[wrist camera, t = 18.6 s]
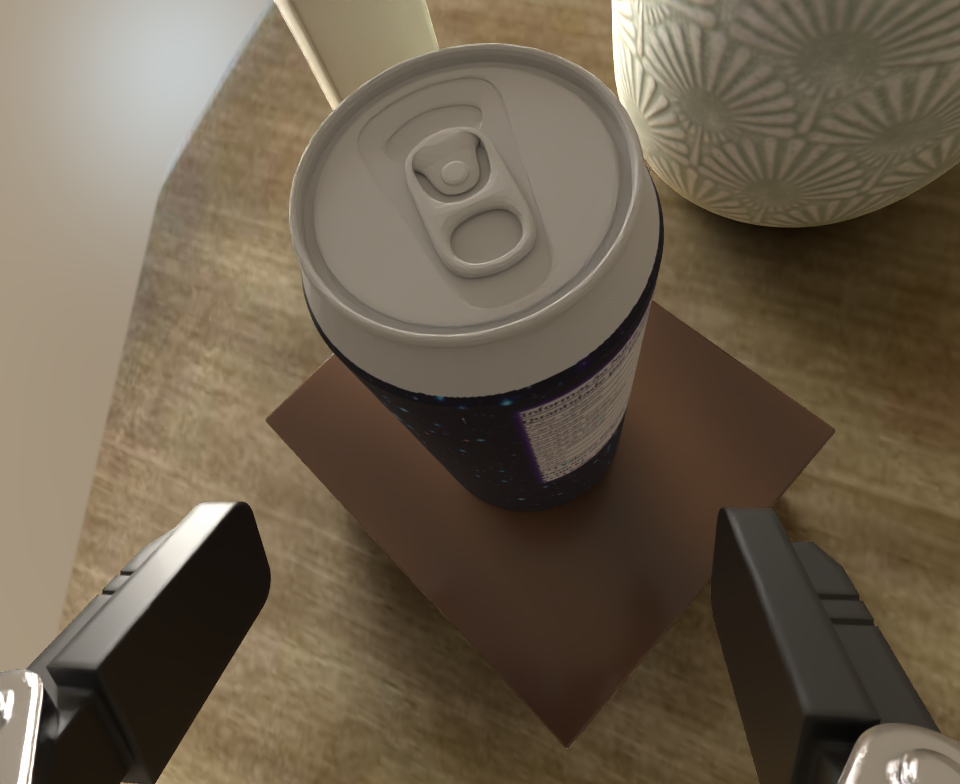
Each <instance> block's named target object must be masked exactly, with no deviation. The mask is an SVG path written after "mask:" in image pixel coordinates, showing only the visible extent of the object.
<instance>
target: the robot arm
mask: <svg viewBox="0 0 960 784" xmlns="http://www.w3.org/2000/svg"><path fill="white" fill-rule="evenodd" d="M270 582H271V574H270V568H269V564H268V561H267V557H266V554H265V551H264V547H263V544H262V541H261V537H260V534H259V531H258V528H257V524H256V521H255V518H254V514H253V511H252V509H251V507H250V506H249V505H248V504H247V503H245V502H217V501H204V502H201V503H199V504H197V505H196V506H195V507H194V508H193V509H192V510H191V511H190V512H189V513H188V515H187V516H186V517H185V518H184V519H183V520H182V521H181V522H180V523H179V524H178V525H177V526H176V527H175V528H174V529H171V530H170V531H168V532H167V533H165V534H164V535H162V536H161V537H159V538H158V539H156V540H154V541H153V542H151V543H150V544H148V545H147V546H145V547H144V548H142V549H141V550H140V551H139V552H138V553H137V554H136V556H135V557H134V558H133V559H132V560H131V561H130V562H129V563H128V564H127V565H126V566H125V567H124V568H123V569H122V570H121V574H120V576H115V577H114V578H113V579H112V580H111V581H110V583H109V584H108V585H107V586H106V587H105V588H104V589H103V590H102V591H103V592H102V595H97V596H96V597H95V598H94V599H93V600H92V601H91V602H90V603H89V604H88V605H87V606H86V607H85V608H84V609H83V611H82V612H81V613H80V614H79V615H78V616H77V617H76V618H75V619H74V620H73V621H72V622H71V623H70V624H69V625H68V626H67V627H66V628H65V629H64V630H63V631H62V632H61V633H60V634H59V635H58V636H57V637H56V639H55V640H54V641H53V642H52V643H51V644H50V645H49V646H48V647H47V648H46V649H45V650H44V651H43V652H42V653H41V654H40V655H39V656H38V657H37V658H36V659H35V660H34V661H33V662H32V664H31V665H30V666H29V667H28V668H27V669H25V670H18V669H16V670H8V671H4V672H0V784H120V783H121V782H126V783H137V784H155V783H156V781H157V780H158V778H159V776H160V775H161V773H162V771H163V770H164V768H165V767H166V765H167V763H168V762H169V760H170V758H171V757H172V755H173V753H174V752H175V750H176V749H177V747H178V745H179V744H180V742H181V740H182V739H183V737H184V735H185V734H186V732H187V731H188V729H189V727H190V726H191V724H192V722H193V721H194V719H195V717H196V716H197V714H198V712H199V711H200V709H201V708H202V706H203V704H204V703H205V701H206V699H207V698H208V696H209V694H210V693H211V691H212V690H213V688H214V686H215V685H216V683H217V681H218V680H219V678H220V676H221V675H222V673H223V672H224V670H225V668H226V667H227V665H228V663H229V662H230V660H231V658H232V657H233V655H234V654H235V652H236V650H237V649H238V647H239V645H240V644H241V642H242V640H243V639H244V637H245V636H246V634H247V632H248V631H249V629H250V627H251V626H252V624H253V622H254V621H255V619H256V618H257V616H258V614H259V613H260V611H261V609H262V608H263V606H264V604H265V602H266V600H267V597H268V594H269V590H270ZM711 604H712V612H713V618H714V622H715V626H716V630H717V633H718V637H719V641H720V644H721V648H722V651H723V655H724V658H725V662H726V666H727V669H728V673H729V676H730V680H731V683H732V687H733V690H734V694H735V698H736V701H737V705H738V708H739V712H740V715H741V719H742V722H743V726H744V730H745V733H746V737H747V740H748V744H749V747H750V751H751V755H752V758H753V762H754V765H755V769H756V772H757V776H758V779H759V783H760V784H960V743H959V742H957V741H955V740H953V739H952V738H950V737H948V736H945V735H943V734H942V733H941V731H940V730H939V728H938V727H937V725H936V724H935V722H934V720H933V719H932V717H931V715H930V714H929V712H928V710H927V709H926V707H925V705H924V704H923V702H922V700H921V699H920V697H919V695H918V693H917V692H916V690H915V688H914V687H913V685H912V683H911V682H910V680H909V678H908V677H907V675H906V673H905V671H904V670H903V668H902V666H901V665H900V663H899V661H898V660H897V658H896V656H895V655H894V653H893V651H892V650H891V648H890V646H889V644H888V643H887V641H886V639H885V638H884V636H883V634H882V633H881V631H880V629H879V628H878V626H875V625H874V619H873V617H872V616H871V614H870V612H869V611H868V609H867V607H866V606H865V604H864V602H863V601H860V599H859V594H858V592H857V590H856V589H855V587H854V585H853V584H852V582H851V580H850V579H849V577H848V575H847V574H846V572H845V570H844V569H843V567H842V566H841V565H840V564H839V563H838V562H836V561H835V560H834V559H833V558H832V557H830V556H829V555H828V554H827V553H826V552H824V551H823V550H822V549H821V548H820V547H818V546H817V545H816V544H815V543H814V542H791V541H790V539H789V537H788V535H787V533H786V531H785V529H784V527H783V525H782V523H781V521H780V519H779V517H778V515H777V514H776V512H775V511H774V509H772V508H729V507H722V508H720V510H719V512H718V517H717V526H716V536H715V546H714V556H713V566H712V576H711Z"/></svg>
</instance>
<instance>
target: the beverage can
mask: <svg viewBox="0 0 960 784" xmlns="http://www.w3.org/2000/svg"><path fill="white" fill-rule="evenodd" d="M289 226H290V232H291V238H292V243H293V248H294V251H295V254H296V257H297V259H298V262H299V265H300V267H301V274H302V285H303V290H304V296H305V299H306V303H307V307H308V310H309V312H310V315H311V317H312V320H313V322H314V324H315V326H316V328H317V330H318V332H319V333H320V335H321V336H322V338H323V340H324V341H325V343H326V344H327V345H328V347H329V348H330V349H331V351H332V352H333V353H334V354H335V355H336V356H337V357H338V358H339V359H340V360H341V361H342V362H343V364H344V365H345V366H346V367H347V368H348V369H349V370H350V371H351V372H352V373H353V374H354V375H355V376H356V377H357V378H358V379H359V380H360V381H361V382H362V383H363V384H364V385H365V386H366V387H367V388H368V389H369V390H370V391H371V392H372V393H373V394H374V395H375V396H376V397H377V399H378V400H379V401H380V402H381V403H382V404H383V405H384V406H385V407H386V408H387V409H388V410H389V411H390V412H391V413H392V414H393V415H394V416H395V417H396V418H397V419H398V420H399V421H400V422H401V423H402V424H403V425H404V426H405V427H406V428H407V429H408V430H409V431H410V432H411V434H412V435H413V436H414V437H415V438H416V439H417V440H418V441H419V442H420V443H421V444H422V445H423V446H424V447H425V448H426V449H427V450H428V451H429V452H430V453H431V454H432V455H433V456H434V457H435V458H436V459H437V460H438V461H439V462H440V463H441V464H442V465H443V466H444V467H445V469H446V470H447V471H448V472H449V473H450V474H451V475H452V476H453V477H454V478H455V479H456V480H457V481H458V482H459V483H460V484H461V485H462V486H463V487H464V488H465V489H466V490H468V491H469V492H470V493H471V494H473V495H474V496H476V497H477V498H479V499H481V500H482V501H484V502H486V503H488V504H491V505H493V506H496V507H499V508H502V509H506V510H512V511H520V512H535V511H543V510H548V509H552V508H556V507H559V506H562V505H564V504H567V503H569V502H571V501H573V500H574V499H576V498H578V497H580V496H581V495H582V494H584V493H585V492H587V491H588V490H589V489H590V488H591V487H592V486H593V485H595V484H596V483H597V482H598V480H599V479H600V478H601V477H602V476H603V474H604V473H605V472H606V470H607V469H608V467H609V465H610V464H611V462H612V460H613V458H614V455H615V453H616V451H617V447H618V444H619V440H620V436H621V431H622V427H623V423H624V419H625V414H626V410H627V406H628V401H629V397H630V393H631V388H632V384H633V380H634V375H635V371H636V367H637V362H638V358H639V354H640V349H641V345H642V341H643V337H644V332H645V328H646V324H647V319H648V315H649V311H650V306H651V302H652V298H653V293H654V289H655V285H656V280H657V276H658V272H659V267H660V263H661V258H662V252H663V243H664V225H663V214H662V208H661V203H660V200H659V196H658V192H657V190H656V187H655V184H654V182H653V179H652V177H651V175H650V173H649V171H648V169H647V167H646V166H645V164H644V158H643V151H642V148H641V144H640V140H639V137H638V134H637V131H636V129H635V127H634V125H633V123H632V121H631V118H630V116H629V114H628V112H627V110H626V109H625V108H624V106H623V105H622V104H621V102H620V101H619V100H618V98H617V97H616V96H615V94H614V93H613V92H612V91H611V90H610V89H609V88H608V87H607V86H605V85H604V84H603V83H602V82H601V81H600V80H599V79H598V78H597V77H596V76H594V75H593V74H591V73H589V72H588V71H586V70H585V69H583V68H582V67H580V66H579V65H577V64H575V63H573V62H571V61H569V60H566V59H564V58H562V57H560V56H557V55H555V54H552V53H549V52H545V51H542V50H538V49H535V48H531V47H525V46H518V45H512V44H495V43H479V44H469V45H459V46H453V47H449V48H444V49H439V50H435V51H431V52H428V53H425V54H422V55H419V56H416V57H413V58H410V59H408V60H405V61H403V62H401V63H399V64H397V65H395V66H393V67H391V68H389V69H386V70H384V71H383V72H381V73H380V74H378V75H376V76H375V77H373V78H372V79H370V80H368V81H367V82H365V83H364V84H362V85H361V86H360V87H359V88H357V89H356V90H355V91H354V92H352V93H351V94H350V95H349V96H347V97H346V98H345V99H344V100H343V101H342V102H341V103H340V104H339V105H338V106H337V107H336V108H335V109H334V110H333V111H332V112H331V113H330V114H329V115H328V116H327V118H326V119H325V120H324V122H323V123H322V124H321V126H320V127H319V128H318V130H317V131H316V132H315V134H314V135H313V137H312V138H311V140H310V142H309V144H308V146H307V148H306V149H305V151H304V153H303V155H302V157H301V159H300V162H299V165H298V168H297V170H296V173H295V176H294V179H293V184H292V189H291V194H290V200H289Z"/></svg>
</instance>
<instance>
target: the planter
mask: <svg viewBox="0 0 960 784" xmlns="http://www.w3.org/2000/svg"><path fill="white" fill-rule="evenodd" d="M612 26H613V55H614V68H615V80H616V85H617V90H618V95H619V100H620V102H621V104H622V105H623V106H624V108H625V109H626V110H627V112H628V114H629V116H630V118H631V121H632V123H633V125H634V127H635V129H636V131H637V134H638V137H639V140H640V144H641V148H642V151H643V157H644V158H645V159H646V161H647V162H648V164H649V165H650V167H651V168H652V169H653V170H654V172H655V173H656V174H657V175H658V176H659V177H660V178H661V179H662V180H663V181H664V182H665V183H666V184H667V185H668V186H669V187H670V188H672V189H673V190H674V191H676V192H677V193H678V194H680V195H681V196H682V197H684V198H686V199H687V200H689V201H691V202H692V203H694V204H696V205H697V206H700V207H702V208H704V209H706V210H708V211H710V212H712V213H715V214H718V215H720V216H723V217H726V218H729V219H732V220H736V221H740V222H743V223H749V224H755V225H760V226H771V227H792V228H798V227H812V226H821V225H827V224H833V223H837V222H841V221H845V220H850V219H853V218H856V217H859V216H862V215H865V214H868V213H871V212H874V211H876V210H879V209H881V208H883V207H886V206H888V205H890V204H892V203H894V202H896V201H899V200H901V199H903V198H905V197H907V196H909V195H910V194H912V193H914V192H916V191H917V190H919V189H921V188H922V187H924V186H926V185H927V184H929V183H931V182H932V181H934V180H936V179H937V178H939V177H940V176H941V175H943V174H944V173H945V172H947V171H948V170H950V169H951V168H952V167H954V166H955V165H956V164H958V163H959V162H960V0H612Z"/></svg>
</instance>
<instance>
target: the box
mask: <svg viewBox="0 0 960 784" xmlns="http://www.w3.org/2000/svg"><path fill="white" fill-rule="evenodd" d="M274 1H275V3H276V5H277V7H278V8H279V10H280V12H281V14H282V16H283V18H284V20H285V21H286V23H287V25H288V27H289V29H290V31H291V33H292V34H293V36H294V38H295V40H296V42H297V44H298V46H299V47H300V49H301V51H302V53H303V55H304V57H305V59H306V60H307V62H308V64H309V66H310V68H311V70H312V72H313V74H314V76H315V77H316V79H317V81H318V83H319V85H320V87H321V89H322V91H323V92H324V94H325V96H326V98H327V100H328V102H329V104H330V106H331V108H332V110H334V109H335V108H336V107H337V106H338V105H339V104H340V103H341V102H342V101H343V100H344V99H345V98H346V97H347V96H349V95H350V94H351V93H352V92H354V91H355V90H356V89H357V88H359V87H360V86H361V85H362V84H364V83H365V82H367V81H368V80H370V79H372V78H373V77H375V76H376V75H378V74H380V73H381V72H383V71H384V70H386V69H389V68H391V67H393V66H395V65H397V64H399V63H401V62H403V61H405V60H408V59H410V58H413V57H416V56H419V55H422V54H425V53H428V52H431V51H435V50H439V47H438V43H437V40H436V36H435V33H434V29H433V26H432V22H431V19H430V15H429V12H428V8H427V4H426V1H425V0H274Z"/></svg>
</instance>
